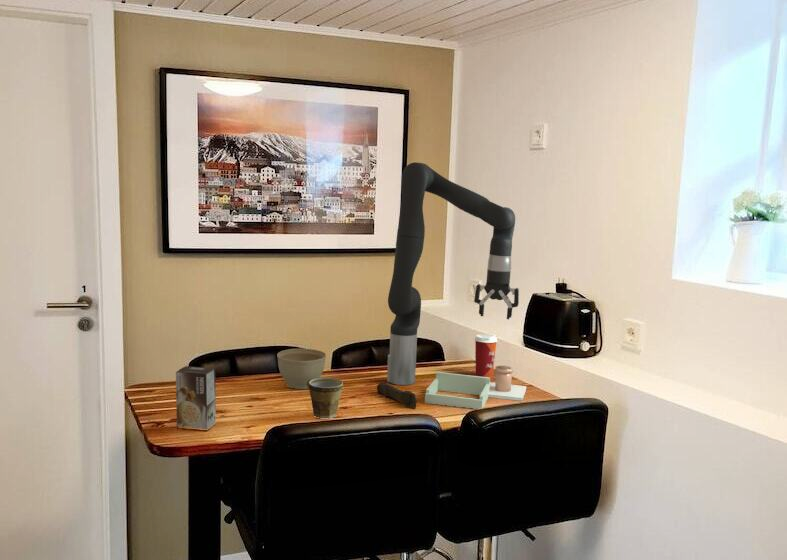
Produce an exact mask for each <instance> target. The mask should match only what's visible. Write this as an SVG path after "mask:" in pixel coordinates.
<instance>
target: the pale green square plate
mask: <svg viewBox="0 0 787 560" xmlns="http://www.w3.org/2000/svg"><path fill="white" fill-rule="evenodd" d="M495 383H496V382H491V381H490V389H489V394H488V398H493V399H503V400H508V401H509V400H510V401H519V402H522V401H523V400H524V397H525V393H526V391H527V386H526V385H516V384H511V391H509V392H500V391H497V390H495ZM481 393H482V392H480V393H479V395H478V396H479V397H480V395H481Z"/></svg>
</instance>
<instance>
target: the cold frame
mask: <svg viewBox="0 0 787 560" xmlns="http://www.w3.org/2000/svg"><path fill="white" fill-rule="evenodd" d="M490 382H491V379H490V378H488V377H479V376H476V375H470V374H469V375H468V374H459V373H452V372H451V373H450V372H443V371H435V379H434V380H433V381H432V382H431V383H430V384H429V386H428V387H427V388H426V390H425V394H424V403H425V404H430V405H437V404H438V405H439V406H445V405H447V407H453V406H456V407H455V408H461V407H466V408H465V409H469V408H473V409H472V410H478V409H479V408H484V406H485V405H486V403H487V401H488V399H489V397H488V394H489V389H490ZM438 391H440V392H441V391H442V392H449V393H450V392H451V393H457V394H458V393H459V394H466V393H467V394H468V395H475V396H479V393H480V392H482V393H481V395H480V396H479V398H471V397H465V396H457V395H456V396H455V395H447V394H437V392H438ZM467 394H466V395H467Z"/></svg>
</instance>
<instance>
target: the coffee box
mask: <svg viewBox="0 0 787 560" xmlns="http://www.w3.org/2000/svg"><path fill="white" fill-rule="evenodd" d="M175 385H176V386H175V391H176V392H175V396H176V399H175V400H176V403H175V404H176V427H177V426H182V427H192V428H202V429H208V428H209V427H211V426H212V425H213V424H214V423H215V422H216V423H217V416H216V415H217V410H216V409H217V408H216V407H217V405H216V400H217V399H216V396H217V395H216V394H217V393H216V368H214V367H201V366H190V365H185V366H183V367H182V368H180V369H179V370H177V371H175Z"/></svg>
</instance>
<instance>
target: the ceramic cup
mask: <svg viewBox="0 0 787 560" xmlns="http://www.w3.org/2000/svg"><path fill="white" fill-rule="evenodd" d="M307 386H308V389H307V390H308V391H309V395H310V396H309V397H310V400H311V405H312V413H313V417H314V416H316V417H319V418H332V419H334V418H333V417H335V418H336V417H337V413H338V409H339V402H340V399H341V395H342V391H343V386H344V382H343V381H342V380H341V379H336V378H334V377H333V378H332V377H320V378H318V379H313V380H308V382H307ZM316 417H315V418H316ZM319 418H318V419H319Z"/></svg>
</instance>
